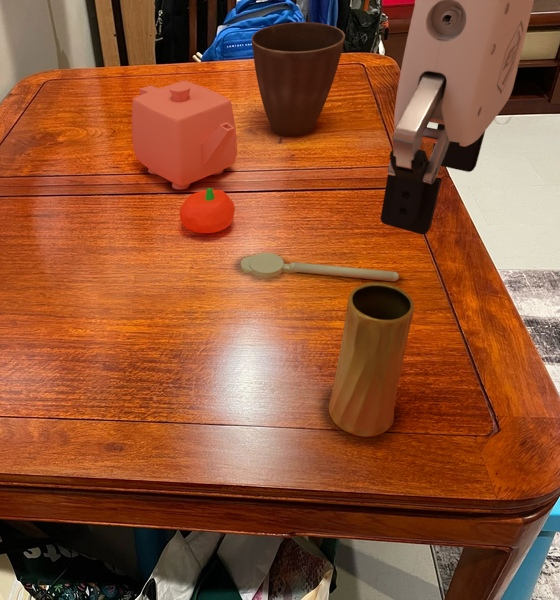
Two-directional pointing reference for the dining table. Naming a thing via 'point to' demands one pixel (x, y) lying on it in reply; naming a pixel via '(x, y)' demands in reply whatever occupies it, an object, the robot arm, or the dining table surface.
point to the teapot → (183, 132)
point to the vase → (371, 359)
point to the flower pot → (296, 72)
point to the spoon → (307, 268)
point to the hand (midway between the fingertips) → (429, 195)
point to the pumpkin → (207, 211)
